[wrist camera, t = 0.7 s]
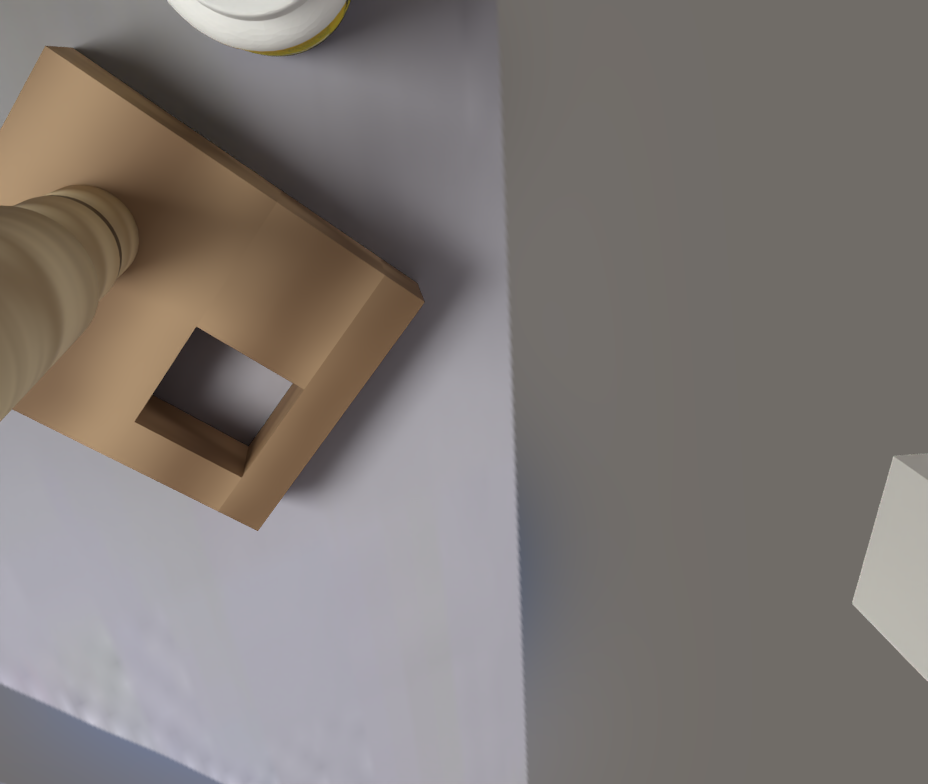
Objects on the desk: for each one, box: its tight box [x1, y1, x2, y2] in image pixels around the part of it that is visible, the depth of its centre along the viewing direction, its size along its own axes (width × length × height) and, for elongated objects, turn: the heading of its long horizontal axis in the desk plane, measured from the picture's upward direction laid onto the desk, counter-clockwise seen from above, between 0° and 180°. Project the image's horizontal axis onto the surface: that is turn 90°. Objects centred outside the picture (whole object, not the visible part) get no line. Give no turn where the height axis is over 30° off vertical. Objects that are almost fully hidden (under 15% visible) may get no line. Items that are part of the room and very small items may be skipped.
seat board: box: [0, 46, 425, 531], centre depth 32 cm, size 16×13×3 cm
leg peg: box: [0, 185, 139, 421], centre depth 22 cm, size 4×4×14 cm
